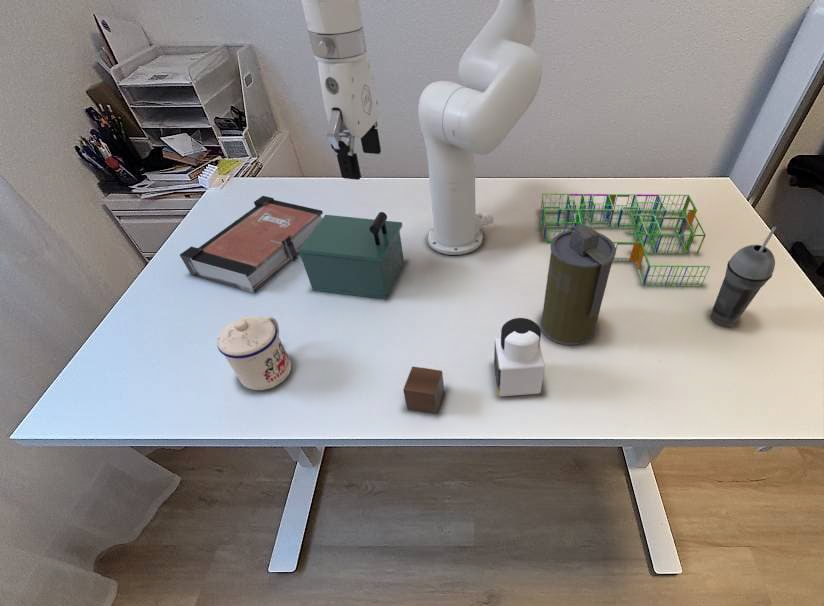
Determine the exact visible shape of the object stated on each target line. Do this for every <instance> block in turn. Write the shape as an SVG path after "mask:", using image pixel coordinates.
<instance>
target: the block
mask: <svg viewBox="0 0 824 606" xmlns="http://www.w3.org/2000/svg"><path fill="white" fill-rule="evenodd" d="M443 374H444V373H443V370H440V369H433V368H426V367H420V366H411V369H410V371H409V374H408V376H407V379H406V382H405V383H404V386H403V397H404V400H405V405H406V409H407V410H411V411H418V412H424V413H425V412H426V413H428V414H429V413H431V414H435V415H436V414H438V411H439V408H440V405H441V402H442V398H443V396H444V393H445V386H444V385H445V384H444V375H443Z"/></svg>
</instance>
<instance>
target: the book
mask: <svg viewBox="0 0 824 606" xmlns="http://www.w3.org/2000/svg"><path fill="white" fill-rule="evenodd" d="M253 204H254V207H253V208H251V209H250V210H248V211H247V212H246V213H244V214H243V215H242V216H241V217H238V219H236V220H235V221H234V222H232V223H231V224H229V225H228V226H227V227H225V228H224V229H223V230H221V231H219V232H218V233H216V235H214V236H212V238H210V239H208V240H207V241H206V242H204V243H203V244H201V245H200V246H199V247H195V246H189V247H188V248H187V249H185V250H184V251H183V252H181V253H180V254H179V256H180V258H181V260H182V262H183V264H184V265H185V267H186V268H187V270H188V272H189V274H190V275H191V276H194V277H197V278H200V279H203V280H207V281H210V282H215V283H218V284H221V285H224V286H229V287H232V288H235V289H238V290H242V291H246V292H250V293H253V294H255V293H256V292H258V291H259V290H260V289H261V288H262V287H263V286H265V285H266V284H267V283H268V282H269V281H270V280H271V279H272V278H273V277H275V276H276V275H277V274H278V273H279V272H280V271H281V270H282V269H283V268H285V267H286V266H287V265H288V264H289V263H290V262H291V261H295V260H296V259H297V257H298V255H300V253H299V250H298V249H299V248H300V247H301V245H302V244H303V243H304V241H305V240H306V239H307V238H308V236H309V235H310V234H311V232H312V231H313V230H314V229H315V227H316V226H317V225H318V223H319V222H320V221H321V220H322V218H323V217H322V215H323V214H324V212H323V210H320V209H317V208H313V207H309V206H308V207H307V206H303V205H298V204H294V203H290V202H285V201H280V200H277V199H275V198H274V197H270V196H267V195H262V196H260V197H259V198H257V199H256V200H255V201H253Z"/></svg>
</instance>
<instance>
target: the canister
mask: <svg viewBox="0 0 824 606" xmlns="http://www.w3.org/2000/svg"><path fill="white" fill-rule="evenodd" d="M573 226H574V225H573ZM563 231H564V230H563ZM550 241H551V244H550V256H549V263H548V271H547V279H546V286H545V294H544V300H543V308H542V315H541V318H540V321H539V328H540V330H541V333H543V335H544V336H545V337H546V338H547V339H548V340H550V341H552V342H555V343H557V344H559V345H564V346H578V345H582V344H585V343H586V342H588V341H590V340H591V339H592V338H593V337H594V335H595V333H596V331H597V323H598V320H599V314H600V311H601V307H602V304H603V303H602V302H603V300H604V295H605V291H606V289H607V284H608V280H609V276H610V272H611V268H612V265H613V262H614V261H613V259H614V258H616V254H617V250H616V244H615V245H614V243H613V242H614V241H613V240H611V239H610V238H609V237H608V236H606V235H605V234H603V233H600V232H599V231H597V230H596V229H594V228H592V227H590V226H588V225H587V224H586V225H585V223H582V224H580V225H577V226H574V227H572V228H571V227H569V229H568V230H565V231H564V232H559V233H558V234H557V235H556V234H555V237H554V236H553V238H552V239H551V240H550ZM614 260H615V259H614Z"/></svg>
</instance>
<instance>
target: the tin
mask: <svg viewBox="0 0 824 606" xmlns="http://www.w3.org/2000/svg"><path fill="white" fill-rule="evenodd" d="M400 231H401V230H400ZM400 231H399V233H398V235H397V236H396V238H395V240H394V242H393V244H392V245H391V247H390V249H389V251H388V253H387V254H386V256H385V258H384V260H383V262H376V261H367V260H358V259H349V258H341V257H332V256H323V255H314V254H305V253H299V256H300V259H301V261H302V264H303V267H304V270H305V272H306V275H307V278H308V281H309V283H310V286H311V289H312V291H314V292H315V291H316V292H324V293H330V294H339V295H347V296H356V297H364V298H372V299H380V300H387V298H388V296H389V295H390V292H391V290H392V288H393V286H394V285H395V282H396V280H397V278H398V276H399V274H400V273H401V270H402V268H403V266H404V264H405V258H404V252H403V244H402V238H401V232H400Z"/></svg>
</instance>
